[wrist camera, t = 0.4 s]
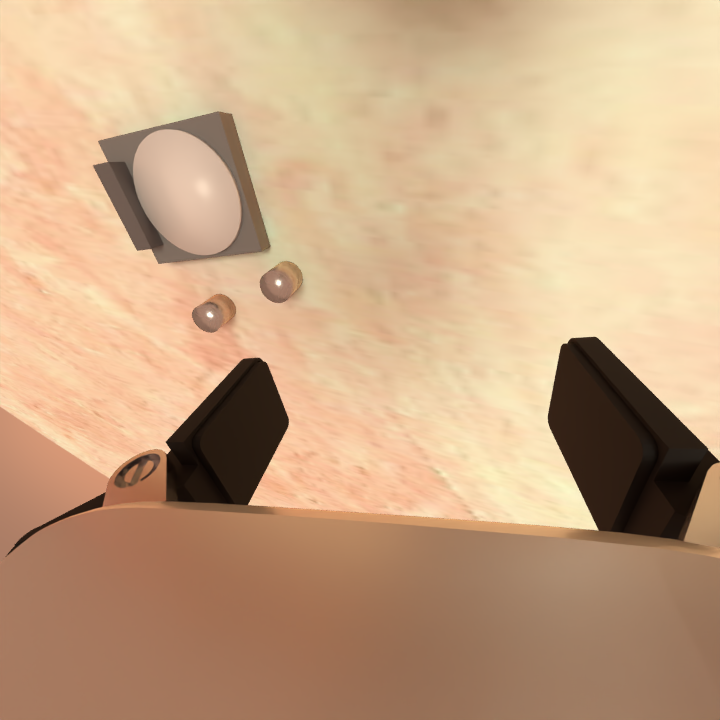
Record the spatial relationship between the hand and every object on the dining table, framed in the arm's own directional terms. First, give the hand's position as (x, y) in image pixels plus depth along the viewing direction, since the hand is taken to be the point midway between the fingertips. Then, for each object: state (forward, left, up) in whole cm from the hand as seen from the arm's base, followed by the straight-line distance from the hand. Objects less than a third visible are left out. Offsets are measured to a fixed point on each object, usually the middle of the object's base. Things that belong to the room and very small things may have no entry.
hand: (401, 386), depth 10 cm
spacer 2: (+6, -19, -35) cm, 40 cm away
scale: (-6, -29, -35) cm, 46 cm away
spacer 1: (+10, -32, -35) cm, 48 cm away
